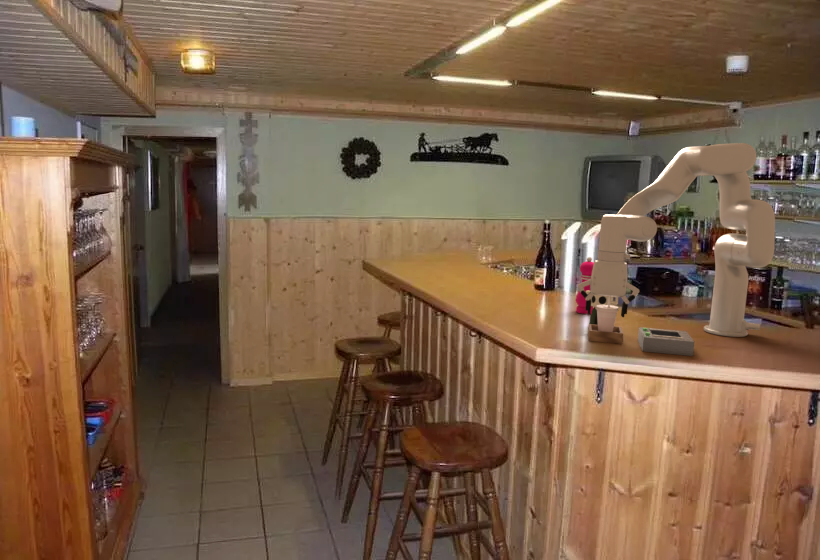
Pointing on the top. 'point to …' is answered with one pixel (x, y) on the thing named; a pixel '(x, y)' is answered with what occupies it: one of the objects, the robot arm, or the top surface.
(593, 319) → the character mug
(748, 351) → the top surface
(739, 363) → the top surface
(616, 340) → the wooden tray
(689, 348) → the box
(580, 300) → the pepper mill
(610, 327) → the smoothie
